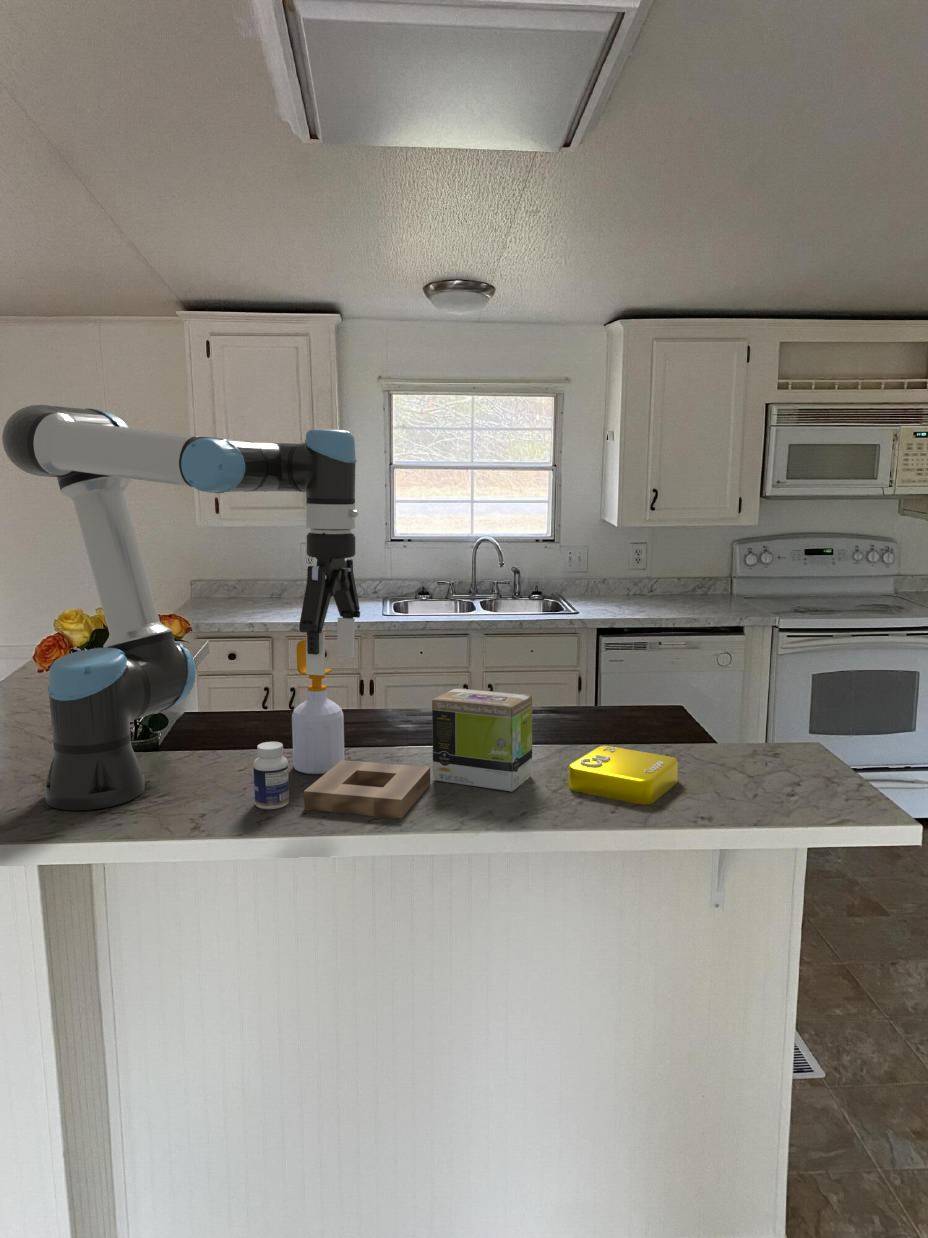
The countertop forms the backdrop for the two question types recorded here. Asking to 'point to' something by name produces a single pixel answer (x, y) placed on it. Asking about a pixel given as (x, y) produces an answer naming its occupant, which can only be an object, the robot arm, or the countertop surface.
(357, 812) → the socket block
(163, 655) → the robot arm
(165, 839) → the countertop surface
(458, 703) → the tea box
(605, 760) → the element tile
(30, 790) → the countertop surface
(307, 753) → the soap bottle
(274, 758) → the pill bottle
